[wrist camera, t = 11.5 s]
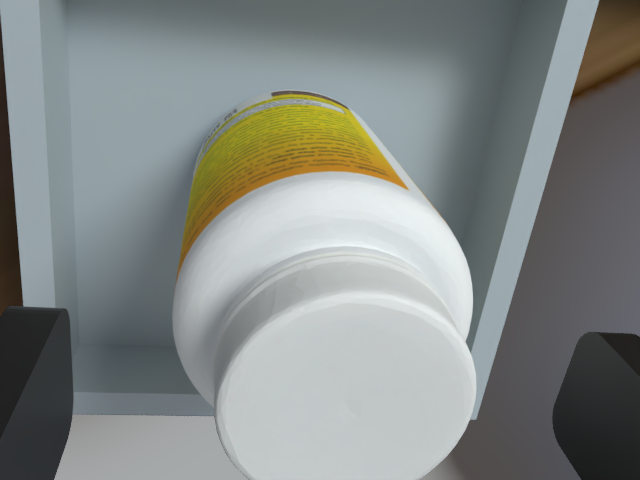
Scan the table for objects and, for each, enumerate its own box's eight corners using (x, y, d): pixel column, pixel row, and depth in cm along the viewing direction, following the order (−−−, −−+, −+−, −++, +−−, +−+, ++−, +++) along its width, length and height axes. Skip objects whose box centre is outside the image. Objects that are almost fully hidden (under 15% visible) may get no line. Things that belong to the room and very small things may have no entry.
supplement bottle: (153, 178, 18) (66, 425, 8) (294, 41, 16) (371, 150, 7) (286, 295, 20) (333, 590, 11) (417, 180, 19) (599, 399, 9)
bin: (33, -115, 15) (-11, -131, 12) (549, -36, 17) (609, -35, 14) (58, 352, 20) (32, 413, 18) (446, 364, 23) (476, 419, 20)
